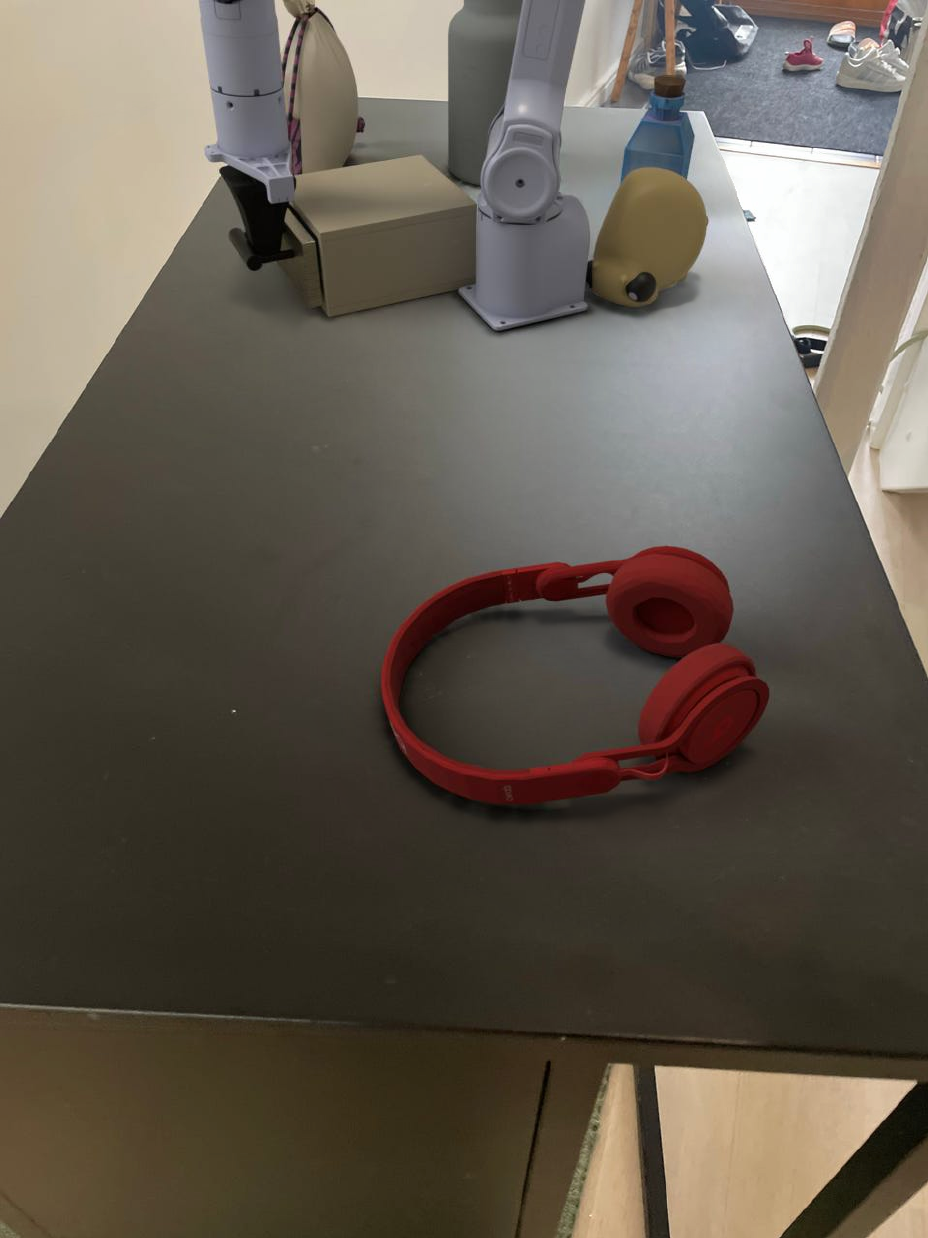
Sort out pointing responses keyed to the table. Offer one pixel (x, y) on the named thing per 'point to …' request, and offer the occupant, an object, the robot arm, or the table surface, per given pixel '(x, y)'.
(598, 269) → the tan rounded piece
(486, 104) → the water bottle
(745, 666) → the headphones
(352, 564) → the table surface
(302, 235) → the drawer
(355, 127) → the pouch
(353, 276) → the wooden drawer box
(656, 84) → the blue corked bottle
